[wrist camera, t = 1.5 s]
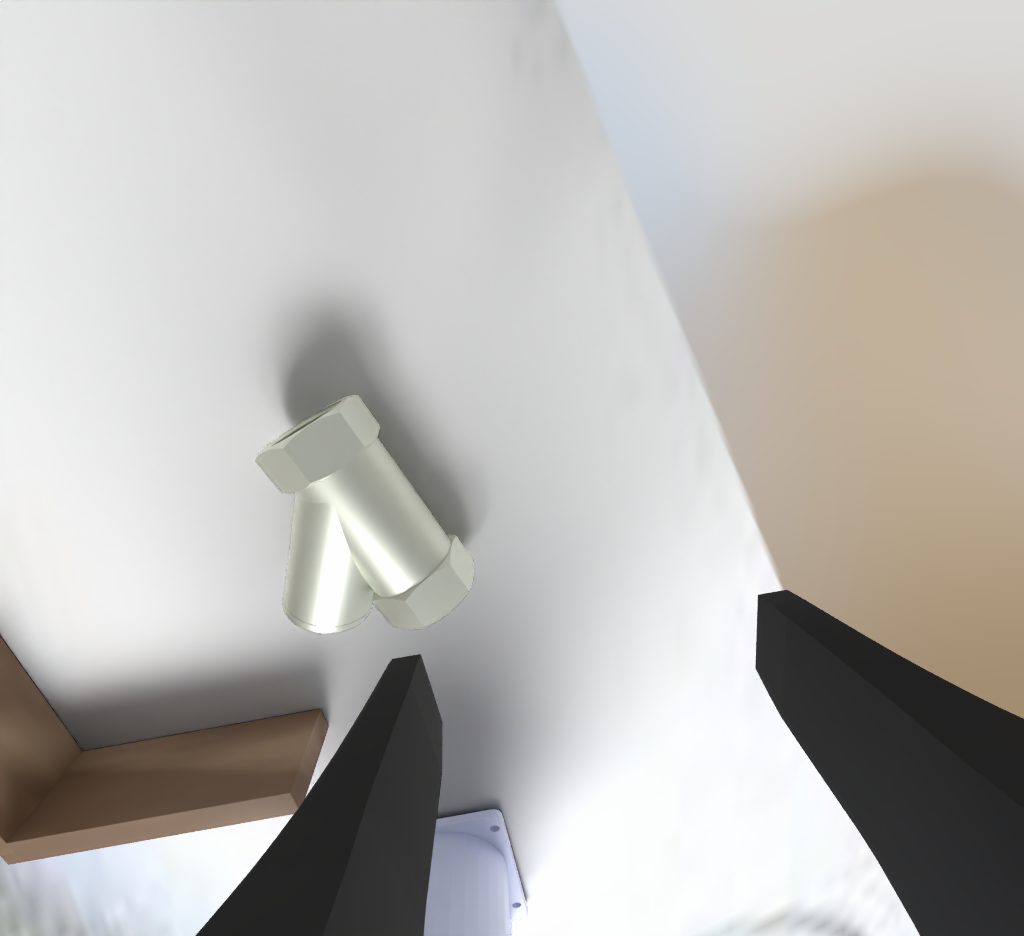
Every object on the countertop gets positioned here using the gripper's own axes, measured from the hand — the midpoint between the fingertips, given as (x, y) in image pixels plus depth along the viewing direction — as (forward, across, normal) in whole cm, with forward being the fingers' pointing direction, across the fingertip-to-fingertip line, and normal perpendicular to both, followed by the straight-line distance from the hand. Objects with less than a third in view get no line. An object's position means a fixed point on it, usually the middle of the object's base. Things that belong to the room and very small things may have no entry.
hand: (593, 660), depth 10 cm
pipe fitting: (+10, +8, 0) cm, 13 cm away
